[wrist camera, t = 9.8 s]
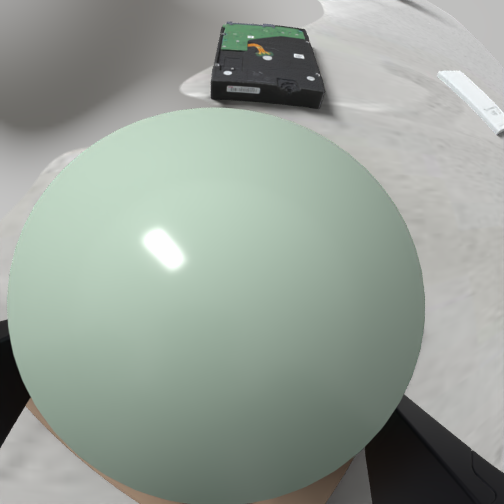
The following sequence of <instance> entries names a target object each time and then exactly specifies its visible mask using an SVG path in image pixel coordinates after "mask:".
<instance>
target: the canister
mask: <svg viewBox="0 0 504 504" xmlns="http://www.w3.org/2000/svg"><path fill="white" fill-rule="evenodd" d="M7 313H8V328H9V334H10V339H11V345H12V350H13V354H14V357H15V360H16V363H17V366H18V369H19V372H20V375H21V378H22V380H23V382H24V384H25V386H26V388H27V390H28V392H29V394H30V396H31V398H32V400H33V402H34V404H35V405H36V407H37V409H38V410H39V412H40V413H41V414H42V416H43V417H44V419H45V420H46V421H47V423H48V424H49V425H50V427H51V428H52V429H53V431H54V432H55V433H56V434H57V435H58V436H59V437H60V438H61V439H62V440H63V441H64V442H65V443H66V444H67V445H68V446H69V447H70V448H71V449H72V450H73V451H74V452H75V453H76V454H77V455H78V456H79V457H81V458H82V459H83V460H85V461H86V462H88V463H89V464H90V465H92V466H93V467H94V468H96V469H97V470H99V471H100V472H102V473H103V474H105V475H106V476H108V477H110V478H112V479H114V480H116V481H118V482H120V483H122V484H124V485H126V486H128V487H130V488H132V489H134V490H137V491H140V492H142V493H146V494H149V495H152V496H155V497H158V498H162V499H165V500H169V501H174V502H181V503H187V504H247V503H253V502H258V501H264V500H269V499H273V498H276V497H279V496H282V495H285V494H288V493H291V492H294V491H296V490H299V489H302V488H304V487H307V486H308V485H310V484H312V483H314V482H316V481H318V480H320V479H321V478H323V477H325V476H327V475H329V474H330V473H332V472H334V471H335V470H337V469H338V468H339V467H341V466H342V465H343V464H345V463H346V462H347V461H349V460H350V459H351V458H352V457H354V456H355V455H356V454H357V453H359V452H360V451H361V450H362V449H363V448H364V447H365V446H366V445H367V444H368V443H369V442H370V441H371V440H372V439H373V437H374V436H375V435H376V434H377V433H378V432H379V431H380V430H381V429H382V428H383V426H384V425H385V423H386V422H387V420H388V419H389V418H390V416H391V415H392V413H393V412H394V410H395V409H396V407H397V406H398V404H399V403H400V401H401V399H402V397H403V395H404V392H405V390H406V388H407V386H408V384H409V382H410V380H411V378H412V375H413V372H414V369H415V366H416V362H417V359H418V356H419V352H420V349H421V343H422V336H423V330H424V322H425V294H424V285H423V277H422V271H421V267H420V263H419V259H418V255H417V251H416V248H415V245H414V243H413V240H412V238H411V235H410V233H409V230H408V228H407V225H406V223H405V222H404V220H403V218H402V216H401V214H400V212H399V211H398V209H397V207H396V205H395V204H394V202H393V201H392V200H391V198H390V197H389V195H388V194H387V193H386V191H385V190H384V188H383V187H382V186H381V185H380V183H379V182H378V181H377V180H376V179H375V178H374V177H373V176H372V175H371V174H370V173H369V171H368V170H367V169H366V168H365V167H364V166H362V165H361V164H360V163H359V162H358V161H357V160H356V159H354V158H353V157H352V156H351V155H350V154H349V153H347V152H346V151H344V150H343V149H342V148H340V147H339V146H337V145H336V144H334V143H333V142H332V141H330V140H328V139H326V138H325V137H323V136H321V135H319V134H317V133H316V132H314V131H312V130H310V129H308V128H305V127H303V126H301V125H298V124H296V123H294V122H291V121H288V120H285V119H282V118H279V117H276V116H272V115H269V114H264V113H259V112H254V111H249V110H242V109H232V108H198V109H186V110H180V111H174V112H169V113H165V114H160V115H157V116H153V117H150V118H146V119H143V120H140V121H138V122H135V123H133V124H130V125H128V126H126V127H123V128H121V129H119V130H117V131H115V132H113V133H112V134H110V135H108V136H106V137H104V138H103V139H101V140H99V141H98V142H96V143H95V144H93V145H92V146H91V147H89V148H88V149H86V150H85V151H84V152H82V153H81V154H80V155H79V156H77V157H76V158H75V159H74V160H73V161H72V162H71V163H69V164H68V165H67V166H66V167H65V168H64V169H63V170H62V171H61V172H60V173H59V175H58V176H57V177H56V178H55V179H54V180H53V181H52V182H51V184H50V185H49V186H48V187H47V189H46V190H45V191H44V193H43V194H42V196H41V197H40V199H39V200H38V202H37V203H36V204H35V206H34V208H33V210H32V212H31V214H30V215H29V217H28V219H27V221H26V223H25V225H24V227H23V230H22V232H21V235H20V238H19V240H18V243H17V246H16V248H15V252H14V256H13V260H12V265H11V269H10V274H9V283H8V294H7Z"/></svg>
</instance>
